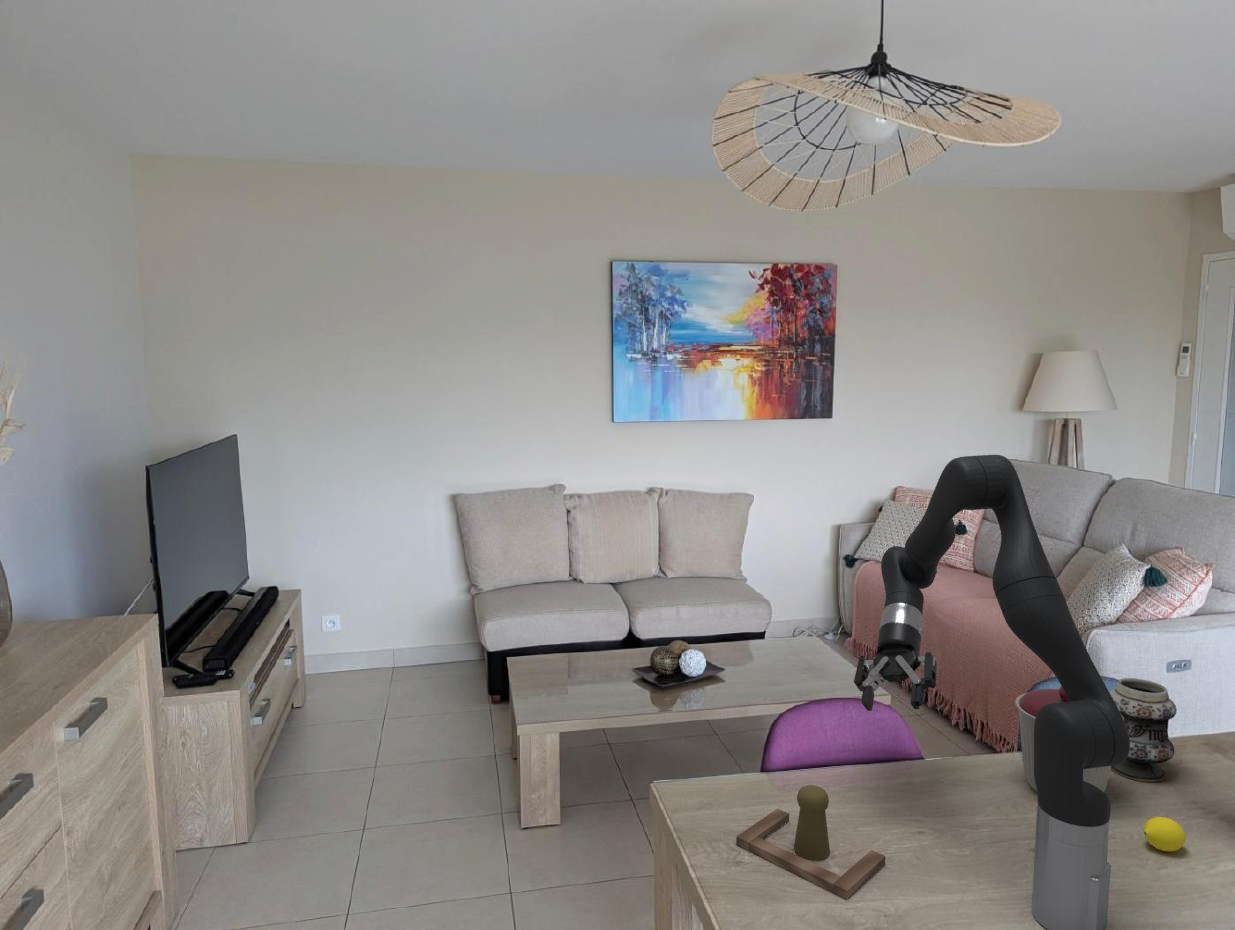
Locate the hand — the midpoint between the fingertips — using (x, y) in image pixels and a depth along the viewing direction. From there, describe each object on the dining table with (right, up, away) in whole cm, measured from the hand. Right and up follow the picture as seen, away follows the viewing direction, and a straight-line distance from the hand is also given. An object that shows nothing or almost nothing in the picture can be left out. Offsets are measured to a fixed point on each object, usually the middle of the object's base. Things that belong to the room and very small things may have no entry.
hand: (890, 707), depth 142 cm
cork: (-15, -23, -5) cm, 28 cm away
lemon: (+45, -23, -5) cm, 50 cm away
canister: (+38, -21, +14) cm, 46 cm away
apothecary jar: (+57, -20, +22) cm, 64 cm away
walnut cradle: (-16, -23, -6) cm, 28 cm away
